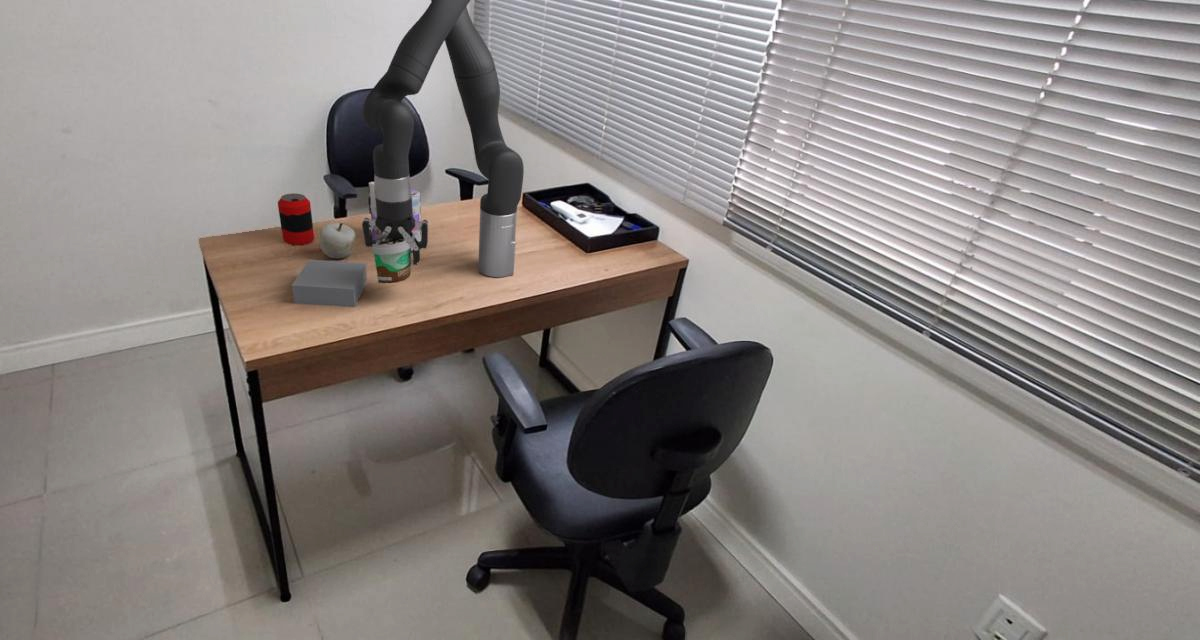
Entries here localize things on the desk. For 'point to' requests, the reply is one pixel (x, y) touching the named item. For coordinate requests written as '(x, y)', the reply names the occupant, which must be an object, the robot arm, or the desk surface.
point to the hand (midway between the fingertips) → (398, 262)
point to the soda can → (296, 219)
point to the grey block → (330, 283)
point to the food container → (392, 260)
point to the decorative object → (337, 240)
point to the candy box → (415, 206)
